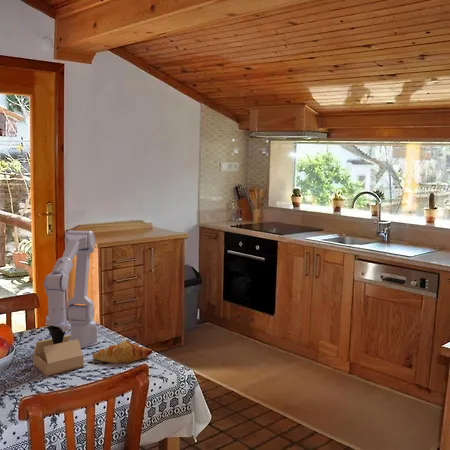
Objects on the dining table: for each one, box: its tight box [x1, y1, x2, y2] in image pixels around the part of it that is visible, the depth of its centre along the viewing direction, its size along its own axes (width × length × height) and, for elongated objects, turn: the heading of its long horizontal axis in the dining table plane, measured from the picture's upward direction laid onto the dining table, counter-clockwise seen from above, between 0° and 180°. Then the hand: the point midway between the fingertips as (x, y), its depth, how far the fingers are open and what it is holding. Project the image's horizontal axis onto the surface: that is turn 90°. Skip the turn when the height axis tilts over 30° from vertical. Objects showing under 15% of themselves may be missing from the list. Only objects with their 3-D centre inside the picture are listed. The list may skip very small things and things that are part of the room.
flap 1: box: [33, 334, 71, 354], centre depth 191 cm, size 12×6×1 cm
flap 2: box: [43, 339, 84, 364], centre depth 185 cm, size 12×6×1 cm
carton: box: [32, 351, 85, 377], centre depth 189 cm, size 13×12×4 cm
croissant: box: [92, 340, 153, 364], centre depth 196 cm, size 21×10×8 cm, turn 101°
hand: (57, 346), depth 188 cm, fingers closed
